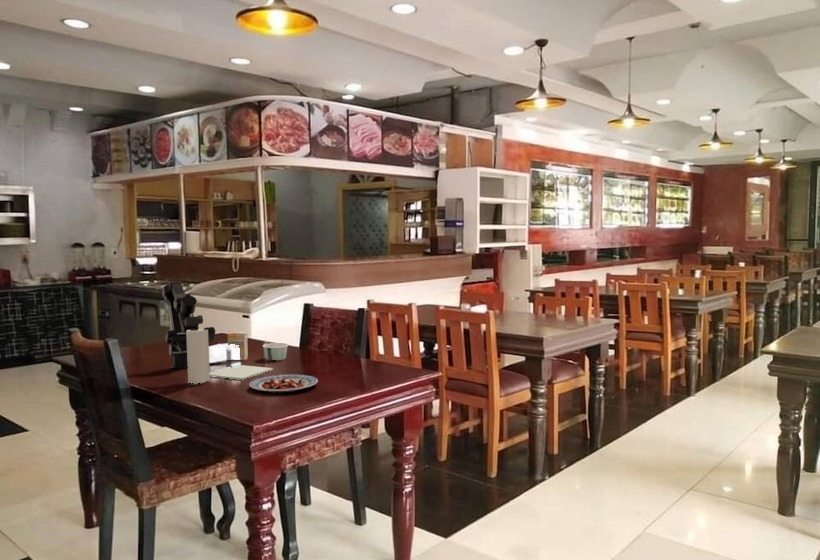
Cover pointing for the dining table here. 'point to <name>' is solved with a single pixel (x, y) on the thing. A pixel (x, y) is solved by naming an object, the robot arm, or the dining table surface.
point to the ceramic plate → (283, 383)
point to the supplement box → (239, 342)
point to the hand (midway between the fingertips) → (194, 351)
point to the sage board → (240, 372)
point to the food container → (275, 351)
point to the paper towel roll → (197, 356)
